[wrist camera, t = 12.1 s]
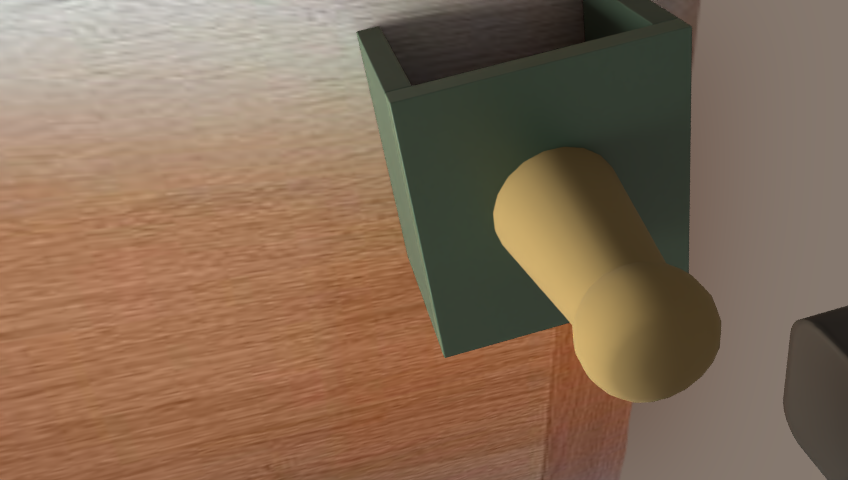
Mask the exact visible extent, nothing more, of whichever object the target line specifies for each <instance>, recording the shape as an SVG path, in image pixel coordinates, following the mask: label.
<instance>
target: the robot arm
mask: <svg viewBox="0 0 848 480" xmlns="http://www.w3.org/2000/svg"><path fill="white" fill-rule="evenodd" d="M783 404H784V412H785V416H786V420H787V422H788V425H789V427H790V430H791V432H792V434H793V436H794V438H795V439H796V441H797V442H798V444H799V445H800V446H801V448H802V449H803V450H804V452H805V453H806V454H807V455H808V457H809V458H810V459H811V460H812V461H813V463H814V464H815V465H816V466H817V467H818V469H819V470H820V471H821V473H822V474H823V475H824V476H825V477H826V478H827V480H848V306H845V307H841V308H838V309H835V310H831V311H827V312H824V313H821V314H817V315H814V316H810V317H807V318H803V319H800V320H797V321H796V322H795V323H794V324H793V326H792V328H791V333H790V342H789V352H788V361H787V370H786V379H785V388H784V397H783Z"/></svg>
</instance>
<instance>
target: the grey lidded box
mask: <svg viewBox="0 0 848 480" xmlns="http://www.w3.org/2000/svg"><path fill="white" fill-rule="evenodd" d="M583 12H584V28H585V42H584V43H580V44H576V45H572V46H568V47H564V48H560V49H556V50H552V51H548V52H544V53H540V54H536V55H532V56H528V57H525V58H521V59H517V60H513V61H509V62H505V63H501V64H497V65H493V66H489V67H485V68H481V69H477V70H473V71H469V72H466V73H462V74H458V75H454V76H450V77H446V78H442V79H438V80H434V81H430V82H426V83H422V84H418V85H414V86H412V85H411V83H410V82H409V80H408V78H407V76H406V74H405V72H404V71H403V69H402V67H401V65H400V63H399V61H398V59H397V58H396V56H395V54H394V52H393V50H392V48H391V47H390V45H389V43H388V41H387V39H386V37H385V36H384V34H383V32H382V30H381V28H380V27H379V26H378V27H374V28H370V29H366V30H362V31H358V32H357V37H358V41H359V46H360V50H361V54H362V59H363V63H364V67H365V72H366V76H367V80H368V85H369V89H370V94H371V98H372V102H373V107H374V111H375V115H376V120H377V124H378V128H379V133H380V137H381V141H382V146H383V150H384V154H385V159H386V163H387V167H388V172H389V176H390V181H391V185H392V189H393V194H394V198H395V202H396V207H397V211H398V215H399V220H400V224H401V228H402V233H403V237H404V241H405V246H406V250H407V254H408V258H409V261H410V264H411V266H412V269H413V272H414V275H415V277H416V280H417V283H418V286H419V289H420V291H421V294H422V297H423V300H424V302H425V305H426V308H427V311H428V313H429V316H430V319H431V322H432V325H433V327H434V330H435V333H436V336H437V338H438V341H439V344H440V347H441V350H442V352H443V355H444V357H445V358H447V357H450V356H454V355H457V354H461V353H464V352H468V351H471V350H475V349H478V348H482V347H485V346H489V345H492V344H496V343H499V342H503V341H507V340H510V339H514V338H517V337H521V336H524V335H528V334H531V333H535V332H538V331H542V330H545V329H549V328H552V327H556V326H559V325H563V324H567V323H570V322H569V321H568V320H567V318H566V317H565V316H564V315H563V314H562V313H561V312H560V310H559V309H558V308H557V307H556V306H555V305H554V304H553V302H552V301H551V300H550V299H549V298H548V297H547V296H546V294H545V293H544V292H543V291H542V290H541V289H540V287H539V286H538V285H537V284H536V283H535V282H534V281H533V279H532V278H531V277H530V276H529V275H528V274H527V273H526V271H525V270H524V269H523V268H522V267H521V266H520V265H519V263H518V262H517V261H516V260H515V259H514V258H513V257H512V255H511V254H510V253H509V252H508V251H507V250H506V248H505V247H504V246H503V245H502V243H501V241H500V239H499V237H498V236H497V234H496V232H495V227H494V218H493V211H494V207H495V203H496V199H497V195H498V193H499V191H500V190H501V188H502V186H503V185H504V183H505V181H506V180H507V178H508V177H509V176H510V175H511V174H512V173H513V172H514V171H515V170H516V169H517V168H518V167H519V166H520V165H521V164H522V163H523V162H525V161H527V160H528V159H530V158H532V157H534V156H536V155H538V154H539V153H541V152H543V151H547V150H552V149H556V148H560V147H576V148H585V149H587V150H589V151H592V152H594V153H596V154H599V155H601V156H602V157H603V158H604V159H605V160H606V161H607V162H608V163H609V164H610V165H611V167H612V168H613V169H614V171H615V173H616V175H617V176H618V178H619V180H620V182H621V184H622V185H623V187H624V189H625V191H626V192H627V194H628V196H629V198H630V200H631V201H632V203H633V205H634V207H635V208H636V210H637V212H638V214H639V216H640V217H641V219H642V221H643V223H644V224H645V226H646V228H647V230H648V232H649V233H650V235H651V237H652V239H653V240H654V242H655V244H656V246H657V248H658V249H659V251H660V253H661V255H662V256H663V258H664V260H665V262H666V263H667V264H669V265H672V266H674V267H677V268H680V269H682V270H683V271H685V272H687V273H689V209H690V136H691V62H692V26H690V25H689V24H687V23H685V22H684V21H682V20H681V19H678V17H676V16H674V15H673V14H671V13H670V12H668V11H666V10H665V9H663V8H662V7H660V6H658V5H657V4H655V3H654V2H652V1H650V0H583Z"/></svg>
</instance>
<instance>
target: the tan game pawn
mask: <svg viewBox="0 0 848 480" xmlns="http://www.w3.org/2000/svg"><path fill="white" fill-rule="evenodd" d="M493 218H494V227H495V232H496V234H497V236H498V237H499V239H500V241H501V243H502V245H503V246H504V247H505V248H506V250H507V251H508V252H509V253H510V254H511V255H512V257H513V258H514V259H515V260H516V261H517V262H518V263H519V265H520V266H521V267H522V268H523V269H524V270H525V271H526V273H527V274H528V275H529V276H530V277H531V278H532V279H533V281H534V282H535V283H536V284H537V285H538V286H539V287H540V289H541V290H542V291H543V292H544V293H545V294H546V296H547V297H548V298H549V299H550V300H551V301H552V302H553V304H554V305H555V306H556V307H557V308H558V309H559V310H560V312H561V313H562V314H563V315H564V316H565V317H566V318H567V320H568V321H569V322H570V323H571V324H572V326H573V342H574V348H575V353H576V355H577V357H578V359H579V361H580V363H581V364H582V366H583V368H584V370H585V372H586V374H587V376H588V377H589V378H590V379H591V380H592V381H593V382H594V383H595V384H596V385H597V386H599V387H600V388H601V389H603V390H604V391H605V392H607V393H608V394H609V395H612V396H614V397H617V398H620V399H624V400H627V401H631V402H635V403H636V402H654V401H658V400H661V399H665V398H669V397H671V396H673V395H675V394H677V393H679V392H681V391H683V390H685V389H686V388H688V387H689V386H690V385H692V384H693V383H694V382H695V381H697V380H698V379H699V378H700V377H701V376H702V375H703V374H704V373H705V372H706V370H707V369H708V368H709V367H710V365H711V364H712V363H713V361H714V359H715V356H716V354H717V352H718V350H719V347H720V335H721V320H720V317H719V314H718V311H717V308H716V306H715V303H714V301H713V298H712V296H711V295H710V294H709V293H708V291H707V290H705V288H704V287H703V286H702V285H701V284H700V283H699V282H698V281H697V280H696V279H695V278H694V277H693V276H692V275H690V274H689V273H687V272H685V271H683V270H682V269H680V268H677V267H674V266H672V265H669V264H667V263H666V262H665V260H664V258H663V256H662V255H661V253H660V251H659V249H658V248H657V246H656V244H655V242H654V240H653V239H652V237H651V235H650V233H649V232H648V230H647V228H646V226H645V224H644V223H643V221H642V219H641V217H640V216H639V214H638V212H637V210H636V208H635V207H634V205H633V203H632V201H631V200H630V198H629V196H628V194H627V192H626V191H625V189H624V187H623V185H622V184H621V182H620V180H619V178H618V176H617V175H616V173H615V171H614V169H613V168H612V167H611V165H610V164H609V163H608V162H607V161H606V160H605V159H604V158H603V157H602V156H601V155H599V154H596V153H594V152H592V151H589V150H587V149H585V148H576V147H560V148H556V149H552V150H547V151H543V152H541V153H539V154H538V155H536V156H534V157H532V158H530V159H528V160H527V161H525V162H523V163H522V164H521V165H520V166H519V167H518V168H517V169H516V170H515V171H514V172H513V173H512V174H511V175H510V176H509V177H508V178H507V180H506V181H505V183H504V185H503V186H502V188H501V190H500V191H499V193H498V195H497V199H496V203H495V207H494V211H493Z"/></svg>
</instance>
